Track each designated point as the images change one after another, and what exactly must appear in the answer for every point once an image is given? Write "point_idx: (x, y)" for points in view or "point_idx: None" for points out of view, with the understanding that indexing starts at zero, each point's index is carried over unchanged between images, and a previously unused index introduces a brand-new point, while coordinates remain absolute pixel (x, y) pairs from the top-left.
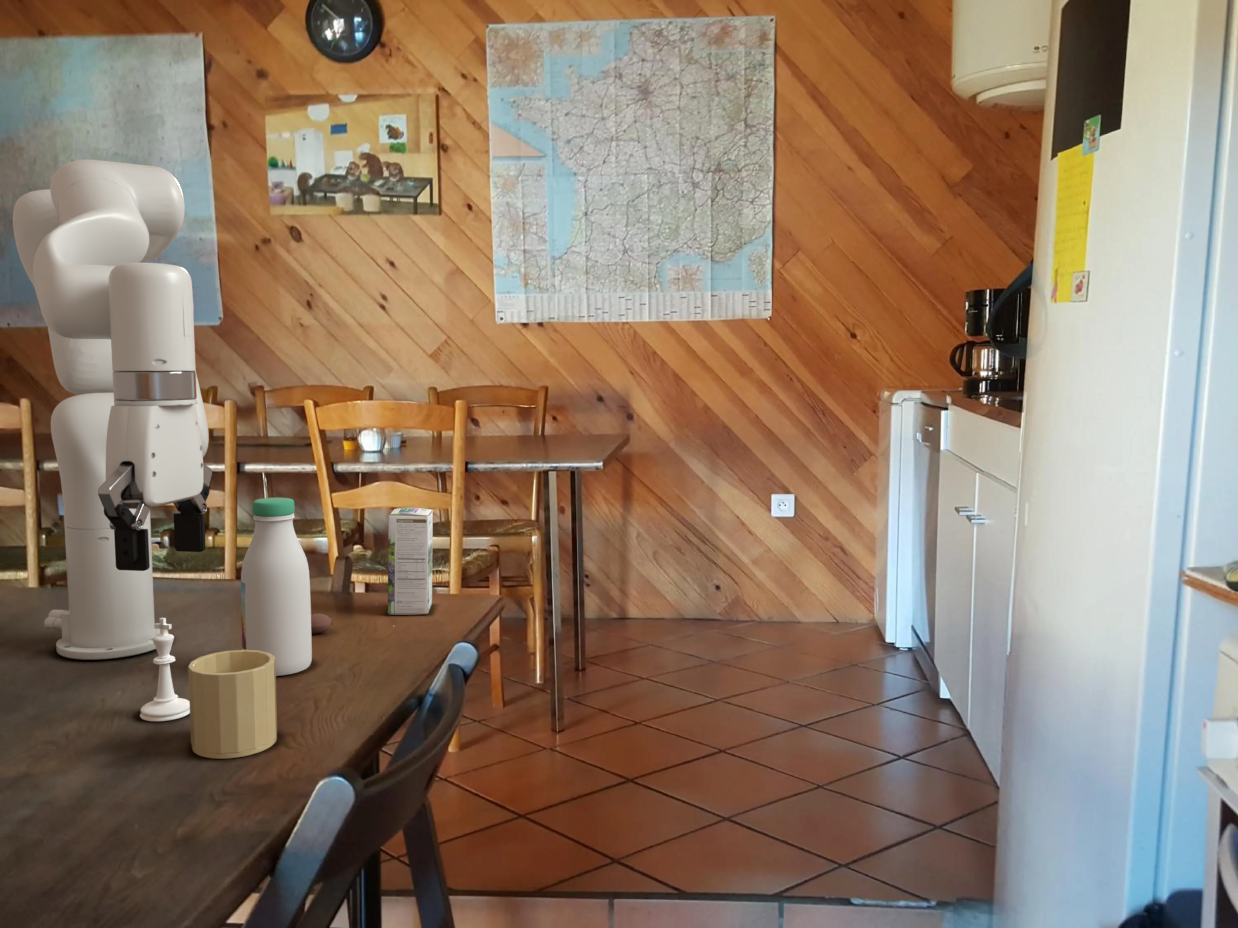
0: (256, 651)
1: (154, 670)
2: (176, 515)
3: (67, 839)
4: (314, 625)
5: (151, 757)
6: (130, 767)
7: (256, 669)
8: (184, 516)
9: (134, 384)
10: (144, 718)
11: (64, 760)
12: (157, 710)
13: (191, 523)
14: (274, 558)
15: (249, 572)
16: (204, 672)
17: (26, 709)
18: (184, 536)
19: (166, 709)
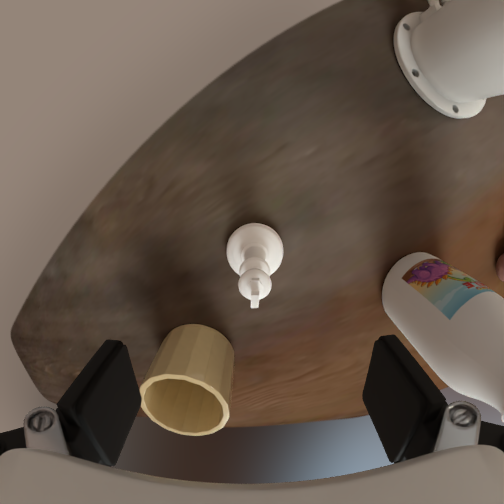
0: (224, 415)
1: (390, 147)
2: (417, 415)
3: (45, 320)
4: (499, 271)
5: (148, 304)
6: (126, 299)
7: (170, 430)
8: (406, 433)
9: None
10: (228, 241)
11: (119, 232)
12: (233, 257)
13: (392, 431)
14: (459, 385)
15: (455, 339)
16: (141, 397)
17: (232, 84)
18: (383, 388)
19: (237, 266)
